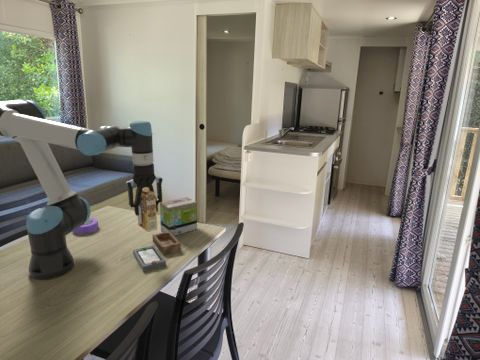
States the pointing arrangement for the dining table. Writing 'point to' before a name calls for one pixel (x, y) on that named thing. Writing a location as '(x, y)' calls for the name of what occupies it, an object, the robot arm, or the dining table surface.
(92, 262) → the dining table surface
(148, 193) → the candy box
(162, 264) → the base
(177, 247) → the trough
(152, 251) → the grey rectangular panel
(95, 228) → the masking tape
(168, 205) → the tea box
